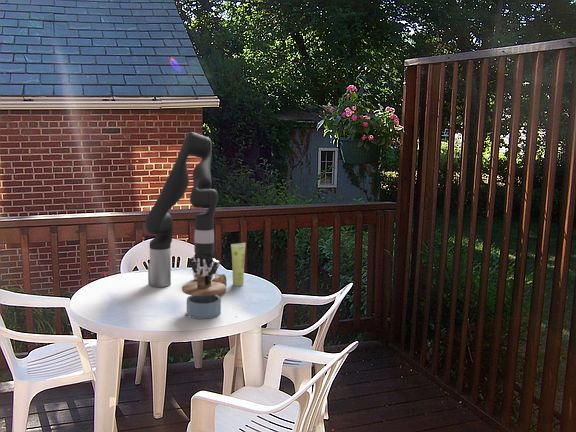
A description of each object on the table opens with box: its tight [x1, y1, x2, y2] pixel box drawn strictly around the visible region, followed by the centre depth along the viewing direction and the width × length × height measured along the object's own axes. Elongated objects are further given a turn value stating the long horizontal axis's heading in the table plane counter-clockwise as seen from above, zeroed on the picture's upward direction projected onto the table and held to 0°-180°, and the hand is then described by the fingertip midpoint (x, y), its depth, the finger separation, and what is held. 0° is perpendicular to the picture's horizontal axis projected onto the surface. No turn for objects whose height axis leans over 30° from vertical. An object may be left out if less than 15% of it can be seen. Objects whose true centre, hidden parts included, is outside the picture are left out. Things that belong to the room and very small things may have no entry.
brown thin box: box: [211, 274, 227, 298], centre depth 253 cm, size 15×3×8 cm, turn 168°
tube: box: [230, 242, 247, 287], centre depth 268 cm, size 6×5×20 cm
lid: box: [181, 273, 227, 296], centre depth 228 cm, size 17×17×6 cm
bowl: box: [186, 295, 222, 320], centre depth 229 cm, size 13×13×6 cm
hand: (204, 284), depth 228 cm, fingers closed on lid, 2 cm apart
